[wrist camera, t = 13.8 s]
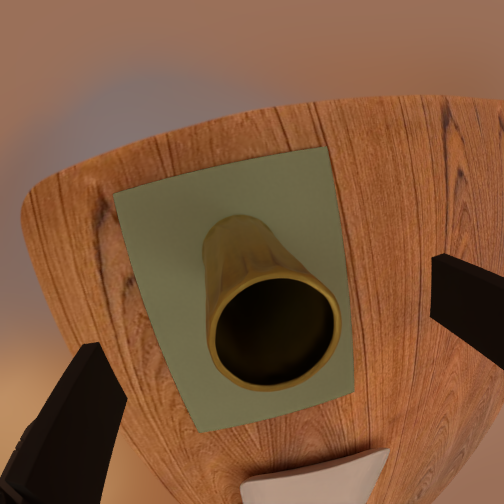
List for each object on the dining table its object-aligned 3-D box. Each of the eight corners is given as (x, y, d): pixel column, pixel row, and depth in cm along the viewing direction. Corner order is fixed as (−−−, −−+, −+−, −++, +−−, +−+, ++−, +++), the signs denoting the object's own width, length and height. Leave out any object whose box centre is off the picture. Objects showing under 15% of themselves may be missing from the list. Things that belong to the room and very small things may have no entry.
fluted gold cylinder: (210, 294, 25) (215, 412, 11) (194, 222, 23) (174, 277, 10) (281, 279, 26) (353, 378, 12) (270, 207, 24) (349, 242, 10)
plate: (235, 466, 32) (238, 485, 28) (383, 433, 34) (393, 448, 31) (245, 522, 36) (248, 536, 33) (357, 498, 39) (363, 510, 36)
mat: (115, 193, 23) (112, 193, 22) (323, 147, 24) (327, 146, 24) (198, 428, 29) (198, 433, 28) (351, 388, 31) (354, 391, 30)
